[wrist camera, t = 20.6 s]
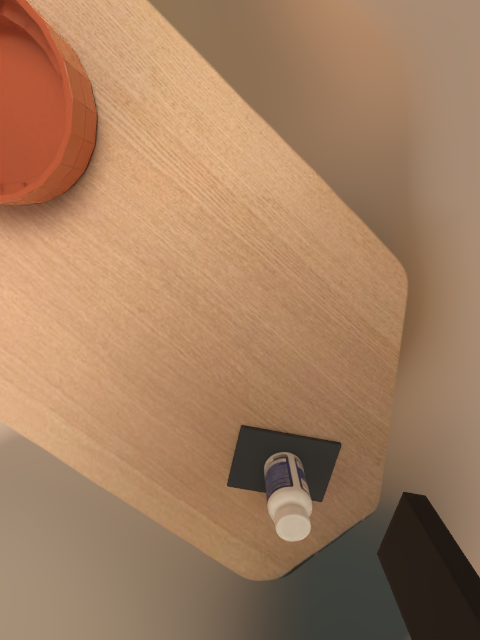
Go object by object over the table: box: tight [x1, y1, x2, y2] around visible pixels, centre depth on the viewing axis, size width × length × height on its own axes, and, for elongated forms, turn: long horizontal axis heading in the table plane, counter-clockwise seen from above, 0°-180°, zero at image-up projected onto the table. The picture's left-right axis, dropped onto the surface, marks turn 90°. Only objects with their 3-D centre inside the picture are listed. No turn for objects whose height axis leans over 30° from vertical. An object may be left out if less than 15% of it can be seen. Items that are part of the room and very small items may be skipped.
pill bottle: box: [264, 452, 312, 541], centre depth 42 cm, size 5×5×10 cm
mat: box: [227, 425, 341, 502], centre depth 47 cm, size 14×10×1 cm
